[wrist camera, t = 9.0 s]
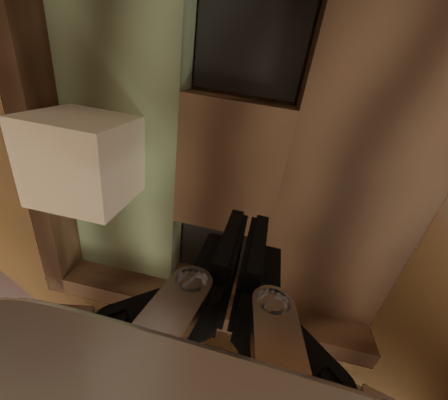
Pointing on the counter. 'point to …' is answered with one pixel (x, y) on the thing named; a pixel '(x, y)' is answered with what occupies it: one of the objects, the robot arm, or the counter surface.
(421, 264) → the counter surface
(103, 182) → the block
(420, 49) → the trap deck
